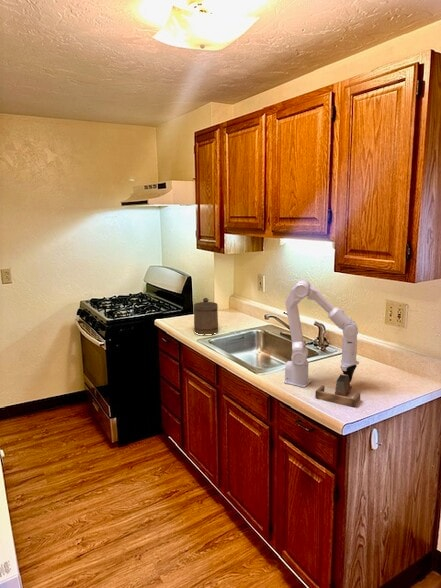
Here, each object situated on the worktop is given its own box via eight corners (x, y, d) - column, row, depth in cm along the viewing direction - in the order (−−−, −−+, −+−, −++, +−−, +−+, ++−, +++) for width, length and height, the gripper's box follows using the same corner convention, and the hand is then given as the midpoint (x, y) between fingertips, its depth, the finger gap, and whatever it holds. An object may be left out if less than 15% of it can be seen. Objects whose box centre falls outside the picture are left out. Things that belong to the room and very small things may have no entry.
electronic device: (352, 389, 168) (352, 371, 166) (345, 398, 160) (346, 380, 159) (341, 387, 170) (341, 370, 169) (334, 395, 162) (334, 378, 161)
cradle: (315, 398, 160) (315, 391, 160) (321, 391, 166) (321, 384, 166) (355, 407, 152) (355, 400, 151) (360, 400, 158) (360, 393, 157)
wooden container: (222, 331, 257) (221, 297, 253) (210, 337, 244) (209, 301, 240) (202, 328, 264) (201, 295, 260) (189, 334, 252) (188, 299, 248)
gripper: (354, 357, 159) (352, 390, 161) (363, 347, 171) (362, 377, 173) (336, 354, 163) (335, 386, 165) (347, 344, 175) (345, 374, 177)
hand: (348, 381), depth 170 cm, fingers closed
